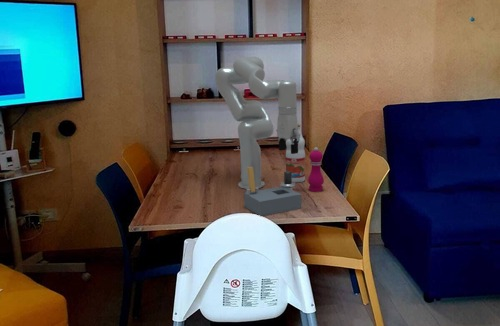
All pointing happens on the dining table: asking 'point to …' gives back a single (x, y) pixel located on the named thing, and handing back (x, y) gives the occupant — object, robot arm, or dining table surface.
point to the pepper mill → (316, 171)
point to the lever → (251, 179)
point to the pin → (288, 180)
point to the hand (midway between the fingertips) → (288, 151)
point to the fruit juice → (296, 159)
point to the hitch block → (272, 200)
